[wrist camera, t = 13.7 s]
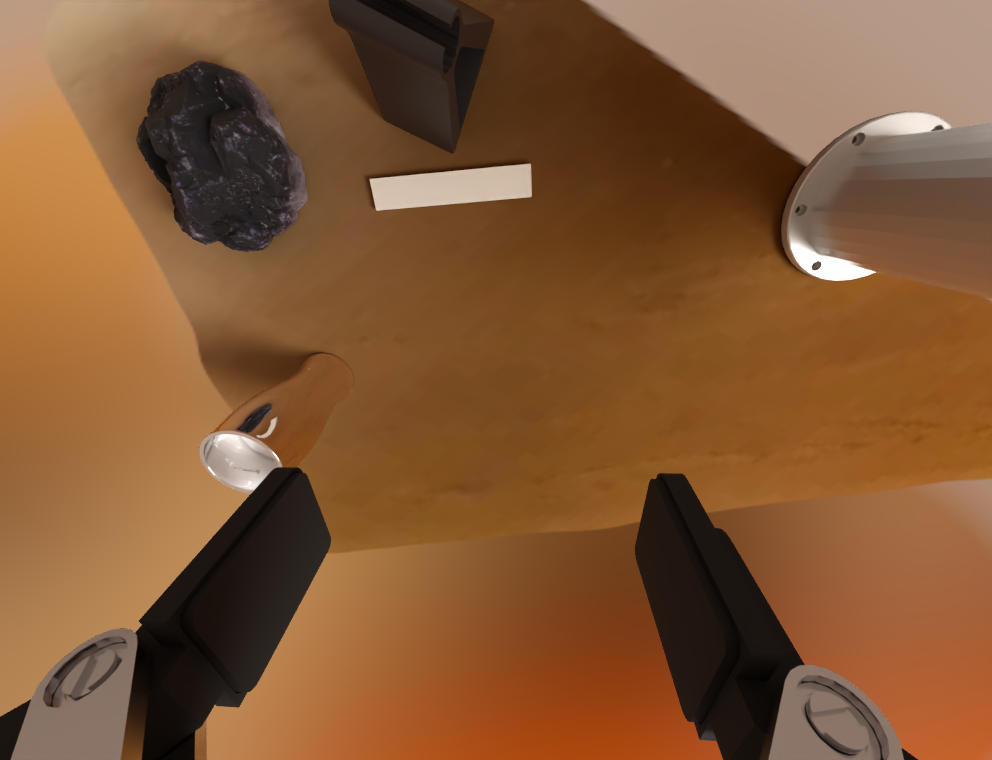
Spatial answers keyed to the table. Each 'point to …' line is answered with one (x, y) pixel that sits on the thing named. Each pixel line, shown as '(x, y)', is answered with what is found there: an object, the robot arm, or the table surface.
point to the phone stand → (419, 60)
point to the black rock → (222, 157)
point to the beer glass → (276, 424)
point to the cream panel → (452, 187)
